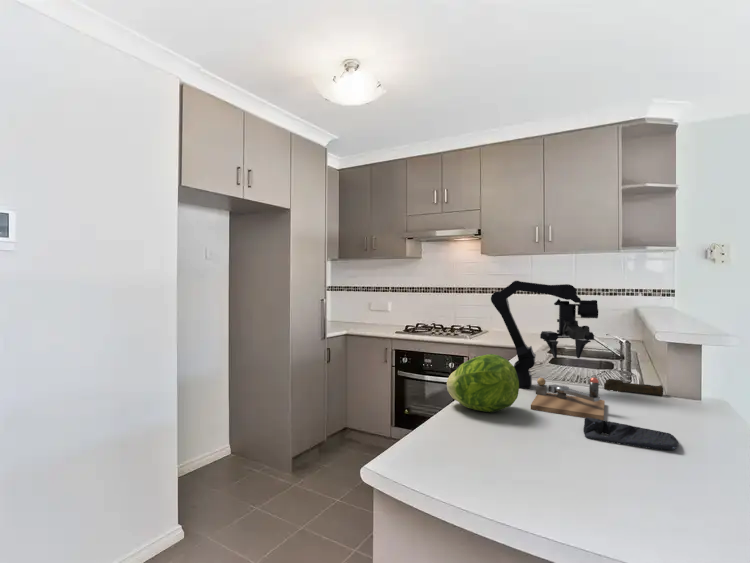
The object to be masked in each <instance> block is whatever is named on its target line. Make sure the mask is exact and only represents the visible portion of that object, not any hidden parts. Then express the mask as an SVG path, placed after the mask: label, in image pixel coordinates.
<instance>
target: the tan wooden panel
mask: <svg viewBox="0 0 750 563" xmlns="http://www.w3.org/2000/svg"><path fill="white" fill-rule="evenodd" d="M547 389H548V387H547V384H546V379H545V378H543V377H538V379H537V380H536V385H535V397H534V399H533V400H532V402H531V403H530V410H534V411H539V412H546V413H553V414H558V415H564V416H565V415H566V416H570V417H571V416H573V417H576V418H578V417H579V418H584V419H585V418H587V417H589V418H595V419H600V420H604V418H605V405H606V404H605V403H606V399H599V401H595V402H593V401H590V400H586V399H583V398H580V397H576V396H573V395H569V394H566V393H558V392H557V393H552V392H548V390H547ZM604 421H605V420H604Z"/></svg>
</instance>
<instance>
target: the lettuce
mask: <svg viewBox="0 0 750 563" xmlns="http://www.w3.org/2000/svg"><path fill="white" fill-rule="evenodd" d="M519 389H520V388H519V380H518V376H517V373H516V370H515V368H514V364H512V363H511V362H510V361H509V360H508V359H506V358H505V357H504V356H501V355H499V354H493V353H490V354H489V353H487V354H484V355H479V356H475V357H473V358H471V359H468V360H467V361H465V362H463V363H461V364H460V365H459V366H458V367H457V368H456V369H455V370H454V371H452V372H451V373H450V375H449V376H448V378H447V379H446V390H447V393H448V394H449V395H450V396H451V398H452V399H453V400H455V401H456V402H457V403H459V404H460V405H461V406H464V407H466V408H468V409H470V410H473V411H476V412H477V411H478V412H484V413H497V412H500V411H502V410H504V409H507V408H508V407H511V406H512V405H513V404H514V403H515V401H516V400H517V399H518V396H519V391H520V390H519Z"/></svg>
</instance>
